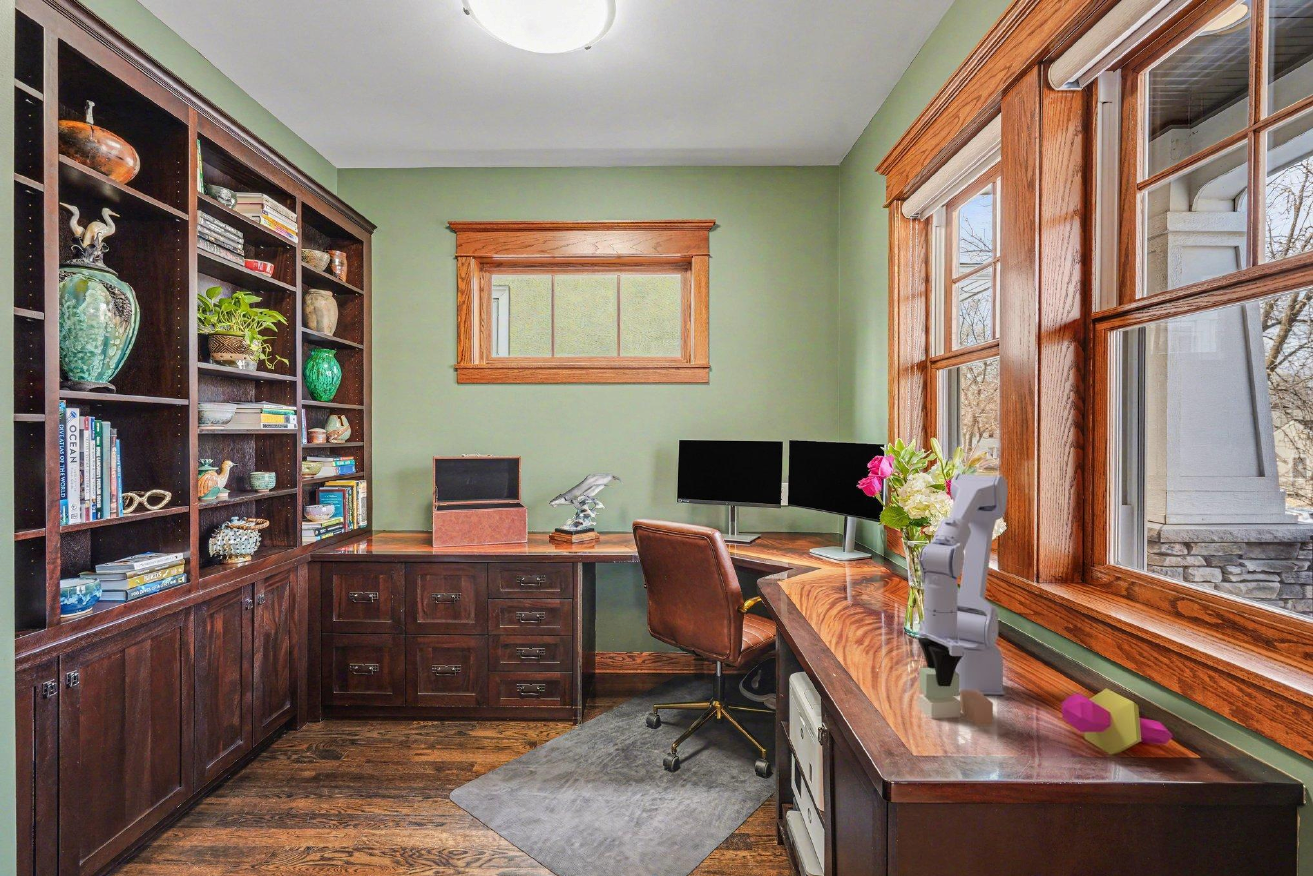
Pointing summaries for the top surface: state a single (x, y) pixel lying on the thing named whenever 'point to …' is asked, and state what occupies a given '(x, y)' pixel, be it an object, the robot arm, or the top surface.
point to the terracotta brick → (976, 707)
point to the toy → (1112, 721)
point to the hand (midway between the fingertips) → (939, 681)
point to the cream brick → (940, 706)
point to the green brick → (931, 686)
